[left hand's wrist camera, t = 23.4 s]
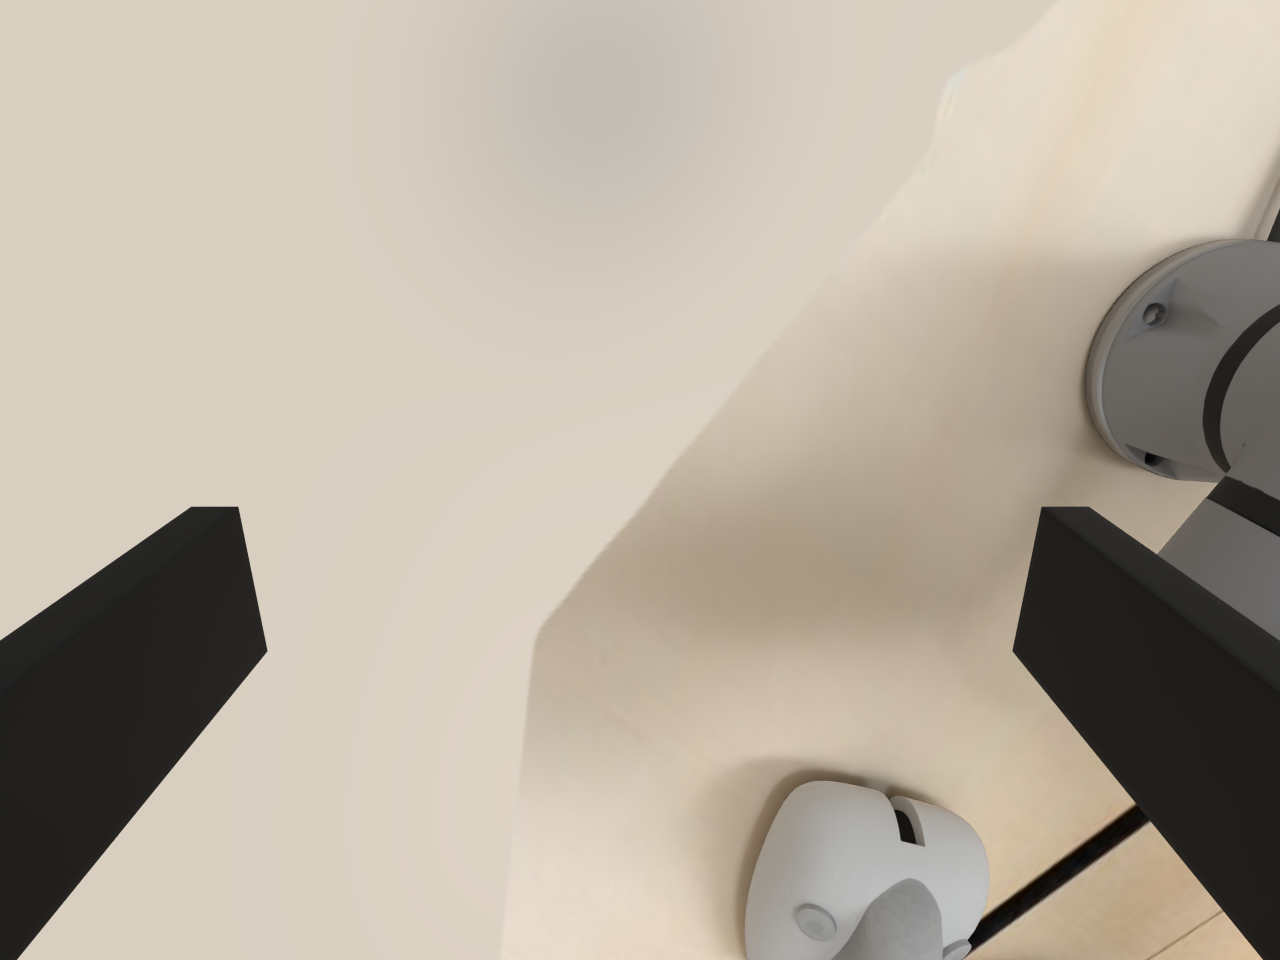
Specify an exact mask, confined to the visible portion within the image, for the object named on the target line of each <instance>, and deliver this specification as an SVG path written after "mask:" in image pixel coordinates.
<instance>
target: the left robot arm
mask: <svg viewBox="0 0 1280 960" xmlns="http://www.w3.org/2000/svg"><path fill="white" fill-rule="evenodd" d="M1085 391H1086V401H1087V405H1088V410H1089V413H1090V416H1091V419H1092V421H1093V423H1094V426H1095V428H1096V429H1097V431H1098V433H1099V434H1100V436H1101V437H1102V438H1103V440H1104V441H1105V442H1106V443H1107V444H1108V445H1109V446H1110V447H1111V448H1112V449H1113V450H1114V451H1115V452H1116V453H1118V454H1119V455H1120V456H1122V457H1123V458H1125V459H1127V460H1129V461H1130V462H1132V463H1134V464H1136V465H1138V466H1139V467H1141V468H1143V469H1145V470H1147V471H1149V472H1151V473H1154V474H1156V475H1159V476H1163V477H1166V478H1171V479H1176V480H1186V481H1202V482H1215V483H1218V484H1217V486H1216V487H1215V488H1214V489H1213V490H1212V492H1211V493H1210V494H1209V495H1208V496H1207V497H1206V498H1205V499H1204V500H1203V501H1202V502H1201V504H1200V505H1199V506H1198V507H1197V508H1196V509H1195V511H1194V512H1193V513H1192V514H1191V515H1190V516H1189V518H1188V519H1187V520H1186V521H1185V522H1184V523H1183V525H1182V526H1181V527H1180V528H1179V529H1178V531H1177V532H1176V533H1175V534H1174V535H1173V536H1172V538H1171V539H1170V540H1169V541H1168V542H1167V543H1166V545H1165V546H1164V547H1163V548H1162V549H1161V551H1160V552H1159V553H1158V554H1155V553H1154V552H1153V551H1151V550H1150V549H1148V548H1147V547H1145V546H1144V545H1143V544H1141V543H1140V542H1138V541H1137V540H1135V539H1134V538H1133V537H1131V536H1130V535H1128V534H1127V533H1125V532H1124V531H1123V530H1121V529H1120V528H1118V527H1117V526H1115V525H1114V524H1113V523H1111V522H1110V521H1108V520H1107V519H1105V518H1104V517H1103V516H1101V515H1100V514H1098V513H1097V512H1095V511H1094V510H1093V509H1091V508H1090V507H1042V508H1041V513H1040V518H1039V523H1038V528H1037V533H1036V538H1035V542H1034V547H1033V552H1032V557H1031V562H1030V567H1029V572H1028V577H1027V582H1026V587H1025V592H1024V597H1023V602H1022V607H1021V612H1020V617H1019V622H1018V626H1017V631H1016V636H1015V641H1014V646H1013V652H1014V654H1015V655H1016V656H1017V657H1018V659H1019V660H1020V661H1021V662H1022V664H1023V665H1024V666H1025V667H1026V668H1027V670H1028V671H1029V672H1030V673H1031V675H1032V676H1033V677H1034V678H1035V680H1036V681H1037V682H1038V683H1039V684H1040V686H1041V687H1042V688H1043V689H1044V691H1045V692H1046V693H1047V694H1048V696H1049V697H1050V698H1051V699H1052V700H1053V702H1054V703H1055V704H1056V705H1057V707H1058V708H1059V709H1060V710H1061V712H1062V713H1063V714H1064V715H1065V716H1066V718H1067V719H1068V720H1069V721H1070V723H1071V724H1072V725H1073V726H1074V728H1075V729H1076V730H1077V731H1078V732H1079V734H1080V735H1081V736H1082V737H1083V739H1084V740H1085V741H1086V742H1087V744H1088V745H1089V746H1090V747H1091V748H1092V750H1093V751H1094V752H1095V753H1096V755H1097V756H1098V757H1099V758H1100V760H1101V761H1102V762H1103V763H1104V764H1105V766H1106V767H1107V768H1108V769H1109V771H1110V772H1111V773H1112V774H1113V776H1114V777H1115V778H1116V779H1117V780H1118V782H1119V783H1120V784H1121V785H1122V787H1123V788H1124V789H1125V790H1126V792H1127V793H1128V794H1129V795H1130V796H1131V798H1132V799H1133V800H1134V801H1135V803H1136V804H1137V805H1138V806H1139V808H1140V809H1141V810H1142V811H1143V812H1144V814H1145V815H1146V816H1147V817H1148V819H1149V820H1150V821H1151V822H1152V824H1153V825H1154V826H1155V827H1156V828H1157V830H1158V831H1159V832H1160V833H1161V835H1162V836H1163V837H1164V838H1165V840H1166V841H1167V842H1168V843H1169V844H1170V846H1171V847H1172V848H1173V849H1174V851H1175V852H1176V853H1177V854H1178V856H1179V857H1180V858H1181V859H1182V860H1183V862H1184V863H1185V864H1186V865H1187V867H1188V868H1189V869H1190V870H1191V872H1192V873H1193V874H1194V875H1195V876H1196V878H1197V879H1198V880H1199V881H1200V883H1201V884H1202V885H1203V886H1204V888H1205V889H1206V890H1207V891H1208V892H1209V894H1210V895H1211V896H1212V897H1213V899H1214V900H1215V901H1216V902H1217V904H1218V905H1219V906H1220V907H1221V908H1222V910H1223V911H1224V912H1225V913H1226V915H1227V916H1228V917H1229V918H1230V920H1231V921H1232V922H1233V923H1234V924H1235V926H1236V927H1237V928H1238V929H1239V931H1240V932H1241V933H1242V934H1243V936H1244V937H1245V938H1246V939H1247V940H1248V942H1249V943H1250V944H1251V945H1252V947H1253V948H1254V949H1255V950H1256V952H1257V953H1258V954H1259V955H1260V956H1261V958H1262V959H1263V960H1280V209H1279V212H1278V214H1277V217H1276V219H1275V222H1274V224H1273V227H1272V229H1271V232H1270V234H1269V237H1268V239H1267V241H1259V240H1246V239H1229V240H1219V241H1214V242H1209V243H1205V244H1201V245H1198V246H1194V247H1192V248H1189V249H1186V250H1184V251H1181V252H1179V253H1177V254H1175V255H1173V256H1171V257H1169V258H1168V259H1166V260H1164V261H1162V262H1161V263H1159V264H1157V265H1156V266H1155V267H1153V268H1152V269H1150V270H1149V271H1148V272H1146V273H1145V274H1144V275H1143V276H1141V277H1140V278H1139V279H1138V280H1137V281H1136V282H1135V283H1134V284H1133V285H1131V286H1130V287H1129V288H1128V289H1127V290H1126V292H1125V293H1124V294H1123V295H1122V296H1121V297H1120V298H1119V300H1118V301H1117V302H1116V303H1115V305H1114V306H1113V307H1112V309H1111V310H1110V312H1109V313H1108V315H1107V316H1106V318H1105V320H1104V321H1103V323H1102V325H1101V327H1100V329H1099V331H1098V333H1097V335H1096V338H1095V340H1094V342H1093V345H1092V348H1091V351H1090V355H1089V359H1088V363H1087V369H1086V378H1085ZM266 652H267V647H266V641H265V636H264V631H263V626H262V622H261V617H260V612H259V607H258V602H257V597H256V592H255V587H254V582H253V577H252V572H251V567H250V562H249V557H248V553H247V547H246V543H245V538H244V533H243V528H242V523H241V518H240V513H239V508H238V507H190V508H189V509H188V510H186V511H185V512H183V513H182V514H180V515H179V516H177V517H176V518H175V519H173V520H172V521H170V522H169V523H167V524H166V525H165V526H163V527H162V528H160V529H159V530H157V531H156V532H155V533H153V534H152V535H150V536H149V537H147V538H146V539H145V540H143V541H142V542H140V543H139V544H138V545H136V546H135V547H133V548H132V549H130V550H129V551H128V552H126V553H125V554H123V555H122V556H120V557H119V558H118V559H116V560H115V561H113V562H112V563H110V564H109V565H107V566H106V567H105V568H103V569H102V570H100V571H99V572H97V573H96V574H95V575H93V576H92V577H90V578H89V579H88V580H86V581H85V582H83V583H82V584H80V585H79V586H77V587H76V588H75V589H73V590H72V591H70V592H69V593H67V594H66V595H65V596H63V597H62V598H60V599H59V600H58V601H56V602H55V603H53V604H52V605H50V606H49V607H47V608H46V609H45V610H43V611H42V612H40V613H39V614H38V615H36V616H35V617H33V618H32V619H30V620H29V621H28V622H26V623H25V624H23V625H22V626H20V627H19V628H18V629H16V630H15V631H13V632H12V633H10V634H9V635H8V636H6V637H5V638H3V639H2V640H0V960H17V959H18V958H19V956H20V955H21V954H22V953H23V952H24V950H25V949H26V948H27V947H28V945H29V944H30V943H31V942H32V940H33V939H34V938H35V937H36V935H37V934H38V933H39V932H40V931H41V929H42V928H43V927H44V926H45V924H46V923H47V922H48V921H49V920H50V918H51V917H52V916H53V915H54V913H55V912H56V911H57V910H58V908H59V907H60V906H61V905H62V904H63V902H64V901H65V900H66V899H67V897H68V896H69V895H70V894H71V892H72V891H73V890H74V889H75V888H76V886H77V885H78V884H79V883H80V881H81V880H82V879H83V878H84V876H85V875H86V874H87V873H88V872H89V870H90V869H91V868H92V867H93V865H94V864H95V863H96V862H97V860H98V859H99V858H100V857H101V856H102V854H103V853H104V852H105V851H106V849H107V848H108V847H109V846H110V844H111V843H112V842H113V841H114V840H115V838H116V837H117V836H118V835H119V833H120V832H121V831H122V830H123V828H124V827H125V826H126V825H127V824H128V822H129V821H130V820H131V819H132V817H133V816H134V815H135V814H136V812H137V811H138V810H139V809H140V807H141V806H142V805H143V804H144V803H145V801H146V800H147V799H148V798H149V796H150V795H151V794H152V793H153V792H154V790H155V789H156V788H157V787H158V785H159V784H160V783H161V782H162V780H163V779H164V778H165V777H166V775H167V774H168V773H169V772H170V771H171V769H172V768H173V767H174V766H175V764H176V763H177V762H178V761H179V760H180V758H181V757H182V756H183V755H184V753H185V752H186V751H187V750H188V748H189V747H190V746H191V745H192V744H193V742H194V741H195V740H196V739H197V737H198V736H199V735H200V734H201V732H202V731H203V730H204V729H205V728H206V726H207V725H208V724H209V723H210V721H211V720H212V719H213V718H214V716H215V715H216V714H217V713H218V712H219V710H220V709H221V708H222V707H223V705H224V704H225V703H226V702H227V700H228V699H229V698H230V697H231V696H232V694H233V693H234V692H235V691H236V689H237V688H238V687H239V686H240V684H241V683H242V682H243V681H244V680H245V678H246V677H247V676H248V675H249V673H250V672H251V671H252V670H253V668H254V667H255V666H256V665H257V664H258V662H259V661H260V660H261V659H262V657H263V656H264V655H265V654H266Z"/></svg>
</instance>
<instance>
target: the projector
mask: <svg viewBox="0 0 1280 960" xmlns="http://www.w3.org/2000/svg"><path fill="white" fill-rule="evenodd" d="M988 890H989V865H988V859H987V855H986V851H985V848H984V846H983V843H982V841H981V839H980V838H979V836H978V834H977V833H976V832H975V830H974V829H973V828H972V827H971V826H970V825H969V824H968V822H966V821H965V820H964V819H963V818H961V817H960V816H958V815H957V814H955V813H953V812H951V811H949V810H946V809H944V808H941V807H938V806H935V805H932V804H929V803H925V802H922V801H918V800H914V799H910V798H907V797H903V796H894V797H892V798H891V799H890V800H888V798H887V797H886V796H885V795H884V794H883V793H882V792H880V791H878V790H874V789H870V788H866V787H861V786H857V785H852V784H847V783H841V782H834V781H812V782H808V783H805V784H802V785H800V786H799V787H797V788H796V789H795V790H793V791H792V792H791V793H790V795H789V796H788V797H787V799H786V800H785V801H784V803H783V804H782V806H781V808H780V809H779V811H778V813H777V815H776V817H775V819H774V821H773V823H772V825H771V827H770V830H769V832H768V834H767V836H766V839H765V841H764V844H763V847H762V849H761V852H760V854H759V857H758V860H757V863H756V866H755V869H754V873H753V877H752V880H751V884H750V889H749V893H748V899H747V905H746V914H745V949H746V956H747V960H961V959H962V958H963V957H965V956H966V954H967V953H968V952H969V951H970V949H971V945H970V944H969V942H968V941H967V940H968V938H969V937H970V936H971V934H972V933H973V932H974V930H975V928H976V927H977V925H978V923H979V921H980V919H981V917H982V915H983V911H984V908H985V905H986V902H987V897H988Z"/></svg>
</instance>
